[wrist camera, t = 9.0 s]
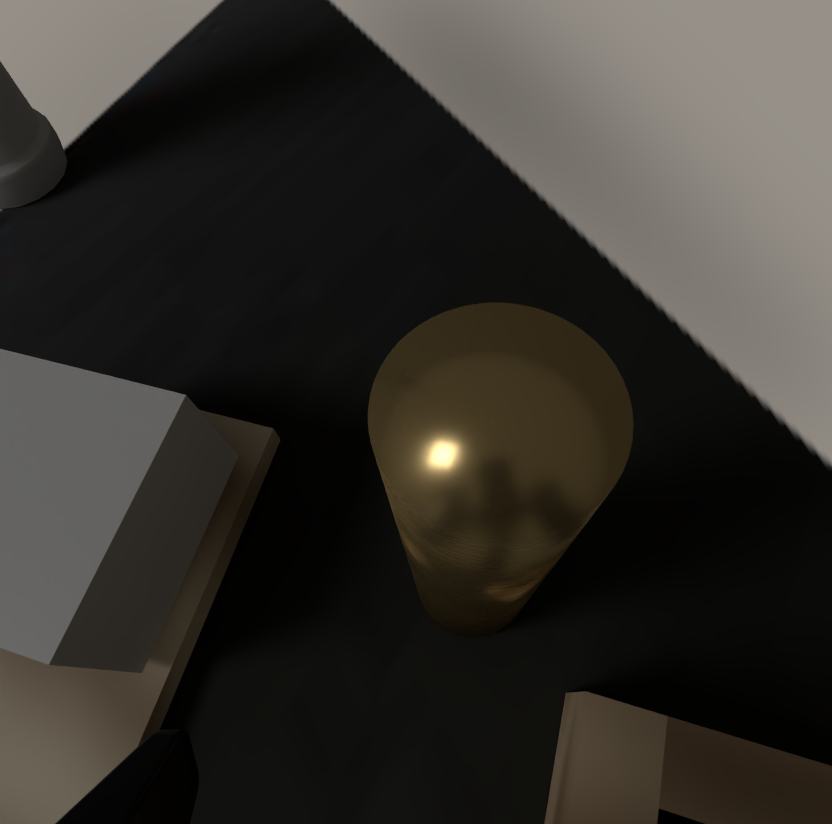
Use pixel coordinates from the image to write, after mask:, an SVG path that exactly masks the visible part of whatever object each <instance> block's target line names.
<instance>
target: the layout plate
mask: <svg viewBox="0 0 832 824" xmlns="http://www.w3.org/2000/svg"><path fill="white" fill-rule="evenodd" d="M200 412H201V413H202V414H203V415H204V416H205V417H206V418H207V420H208V421H209V422H210V423H211V424H212V425H213V427H214V428H215V429H216V430H217V431H218V432H219V433H220V435H221V436H222V437H223V438H224V439H225V440H226V441H227V443H228V444H229V445H230V446H231V447H232V448H233V449H234V451H235V452H236V453H237V454H238V455H239V456H238V458H237V461H236V463H235V465H234V467H233V470H232V472H231V474H230V476H229V479H228V481H227V483H226V485H225V488H224V490H223V492H222V494H221V497H220V499H219V501H218V503H217V506H216V508H215V510H214V512H213V515H212V517H211V519H210V521H209V524H208V526H207V528H206V530H205V533H204V535H203V537H202V539H201V542H200V544H199V546H198V548H197V551H196V553H195V555H194V557H193V560H192V562H191V564H190V566H189V569H188V571H187V573H186V575H185V578H184V580H183V582H182V584H181V587H180V589H179V591H178V593H177V596H176V598H175V600H174V602H173V605H172V607H171V609H170V611H169V614H168V616H167V618H166V620H165V623H164V625H163V627H162V629H161V632H160V634H159V636H158V638H157V641H156V643H155V645H154V647H153V650H152V652H151V654H150V656H149V659H148V661H147V663H146V665H145V668H144V670H143V672H142V673H134V672H123V671H112V670H100V669H89V668H78V667H67V666H56V665H48V664H45V663H42V662H39V661H36V660H33V659H31V658H28V657H25V656H22V655H19V654H16V653H13V652H11V651H8V650H5V649H2V648H0V824H55V823H56V822H57V821H58V820H59V819H61V818H62V817H63V816H64V815H65V814H66V813H67V812H68V811H69V810H70V809H71V808H72V807H73V806H74V805H76V804H77V803H78V802H79V801H80V800H81V799H82V798H83V797H84V796H85V795H86V794H87V793H88V792H90V791H91V790H92V789H93V788H94V787H95V786H96V785H97V784H98V783H99V782H100V781H101V780H102V779H103V778H105V777H106V776H107V775H108V774H109V773H110V772H111V771H112V770H113V769H114V768H115V767H116V766H117V765H118V764H120V763H121V762H122V761H123V760H124V759H125V758H126V757H127V756H128V755H129V754H130V753H131V752H132V751H133V750H135V749H136V748H137V747H138V746H139V745H140V744H141V743H142V742H143V741H144V740H145V739H146V738H147V737H149V736H150V735H151V734H152V733H154V732H155V731H158V730H160V728H161V725H162V723H163V720H164V718H165V716H166V713H167V711H168V709H169V706H170V704H171V701H172V699H173V697H174V694H175V692H176V689H177V687H178V685H179V682H180V680H181V677H182V675H183V673H184V670H185V668H186V665H187V663H188V661H189V658H190V656H191V653H192V651H193V649H194V646H195V644H196V641H197V639H198V637H199V634H200V632H201V629H202V627H203V625H204V622H205V620H206V617H207V615H208V613H209V610H210V608H211V605H212V603H213V601H214V598H215V596H216V593H217V591H218V589H219V586H220V584H221V582H222V579H223V577H224V574H225V572H226V570H227V567H228V565H229V562H230V560H231V558H232V555H233V553H234V550H235V548H236V546H237V543H238V541H239V538H240V536H241V534H242V531H243V529H244V526H245V524H246V522H247V519H248V517H249V514H250V512H251V510H252V507H253V505H254V502H255V500H256V498H257V495H258V493H259V490H260V488H261V486H262V483H263V481H264V478H265V476H266V474H267V471H268V469H269V466H270V464H271V462H272V459H273V457H274V455H275V452H276V450H277V447H278V445H279V443H280V440H281V439H280V438H279V436H278V435H277V433H276V432H275V430H274V429H273V428H269V427H265V426H261V425H257V424H253V423H249V422H246V421H242V420H238V419H234V418H230V417H226V416H222V415H218V414H214V413H210V412H206V411H202V410H200Z"/></svg>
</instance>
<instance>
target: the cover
mask: <svg viewBox="0 0 832 824" xmlns="http://www.w3.org/2000/svg"><path fill="white" fill-rule="evenodd" d="M238 456H239V455H238V454H237V453H236V452H235V451H234V449H233V448H232V447H231V446H230V445H229V444H228V443H227V441H226V440H225V439H224V438H223V437H222V436H221V435H220V433H219V432H218V431H217V430H216V429H215V428H214V427H213V425H212V424H211V423H210V422H209V421H208V420H207V418H206V417H205V416H204V415H203V414H202V413H201V412H200V410H199V409H198V408H197V407H196V406H195V405H194V404H193V402H192V401H191V400H190V399H189V398H188V397H187V396H186V395H184V394H180V393H176V392H172V391H168V390H164V389H160V388H156V387H152V386H148V385H144V384H140V383H136V382H132V381H128V380H123V379H119V378H115V377H111V376H107V375H103V374H99V373H95V372H91V371H87V370H83V369H79V368H75V367H71V366H67V365H63V364H59V363H55V362H51V361H47V360H43V359H39V358H35V357H31V356H27V355H23V354H19V353H14V352H10V351H6V350H2V349H0V648H2V649H5V650H8V651H11V652H13V653H16V654H19V655H22V656H25V657H28V658H31V659H33V660H36V661H39V662H42V663H45V664H48V665H56V666H67V667H78V668H89V669H100V670H112V671H123V672H134V673H142V672H143V670H144V668H145V665H146V663H147V661H148V659H149V656H150V654H151V652H152V650H153V647H154V645H155V643H156V641H157V638H158V636H159V634H160V632H161V629H162V627H163V625H164V623H165V620H166V618H167V616H168V614H169V611H170V609H171V607H172V605H173V602H174V600H175V598H176V596H177V593H178V591H179V589H180V587H181V584H182V582H183V580H184V578H185V575H186V573H187V571H188V569H189V566H190V564H191V562H192V560H193V557H194V555H195V553H196V551H197V548H198V546H199V544H200V542H201V539H202V537H203V535H204V533H205V530H206V528H207V526H208V524H209V521H210V519H211V517H212V515H213V512H214V510H215V508H216V506H217V503H218V501H219V499H220V497H221V494H222V492H223V490H224V488H225V485H226V483H227V481H228V479H229V476H230V474H231V472H232V470H233V467H234V465H235V463H236V461H237V458H238Z"/></svg>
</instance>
